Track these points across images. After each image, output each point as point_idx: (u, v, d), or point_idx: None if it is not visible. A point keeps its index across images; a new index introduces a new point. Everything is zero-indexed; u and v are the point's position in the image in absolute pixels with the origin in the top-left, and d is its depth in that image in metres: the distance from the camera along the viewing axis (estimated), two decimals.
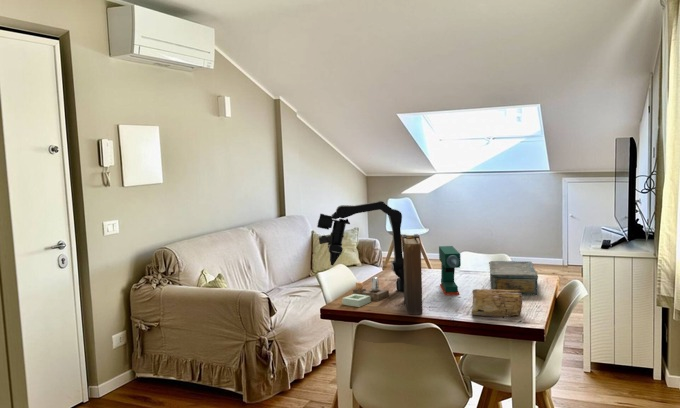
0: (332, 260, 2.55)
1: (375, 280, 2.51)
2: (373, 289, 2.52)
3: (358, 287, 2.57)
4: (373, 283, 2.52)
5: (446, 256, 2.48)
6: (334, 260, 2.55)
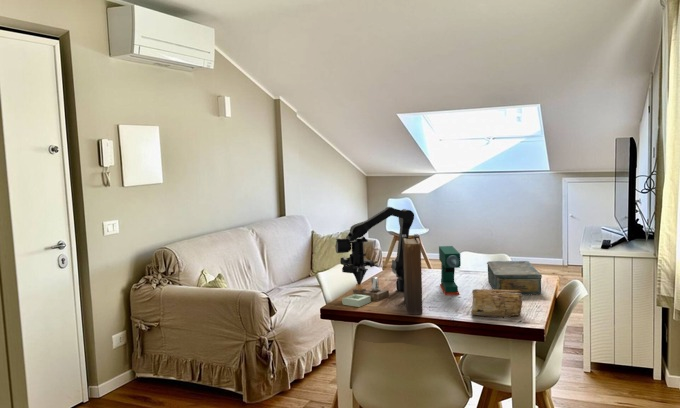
0: (357, 279, 2.58)
1: (375, 280, 2.51)
2: (373, 289, 2.52)
3: (358, 288, 2.57)
4: (373, 283, 2.52)
5: (446, 256, 2.48)
6: (358, 279, 2.57)
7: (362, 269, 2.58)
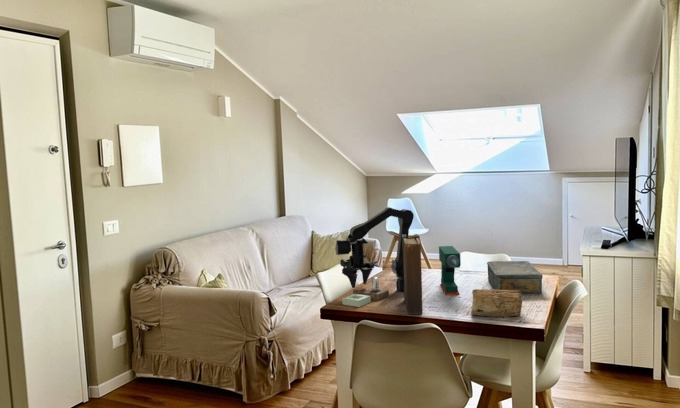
0: (351, 283, 2.54)
1: (375, 280, 2.51)
2: (373, 289, 2.52)
3: None
4: (373, 283, 2.52)
5: (446, 256, 2.48)
6: (353, 283, 2.53)
7: (367, 269, 2.62)
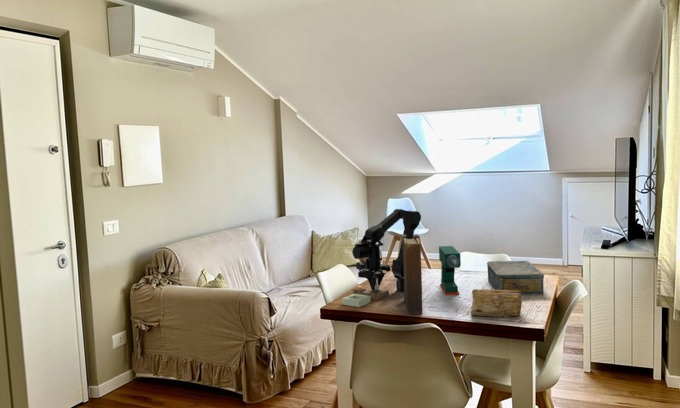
0: (371, 285, 2.51)
1: None
2: None
3: None
4: None
5: (446, 256, 2.48)
6: (373, 285, 2.50)
7: (380, 273, 2.54)
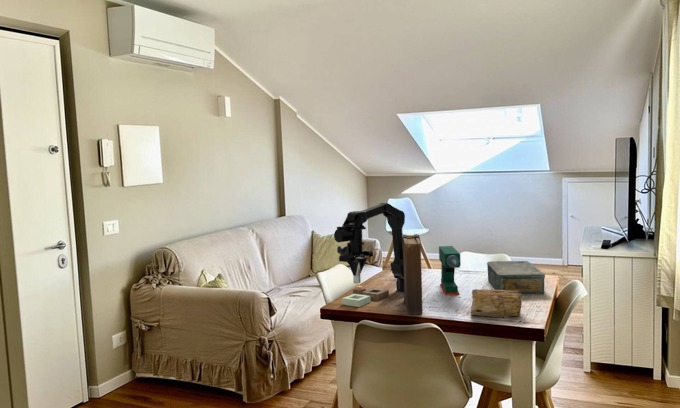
0: (352, 270, 2.42)
1: None
2: None
3: None
4: None
5: (446, 256, 2.48)
6: (354, 270, 2.41)
7: (362, 258, 2.45)
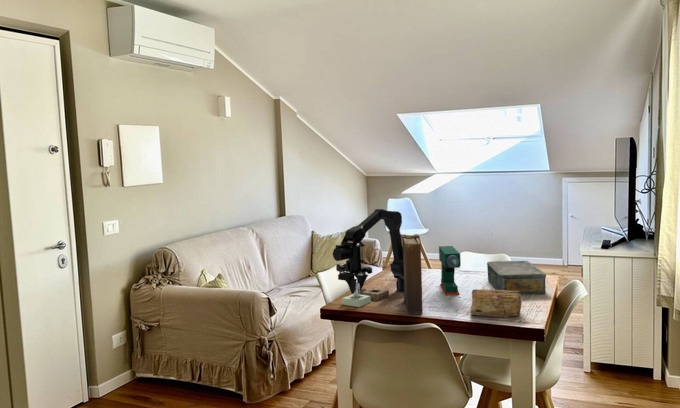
0: (350, 288, 2.41)
1: (356, 285, 2.42)
2: (354, 295, 2.43)
3: None
4: None
5: (446, 256, 2.48)
6: (352, 288, 2.40)
7: (362, 275, 2.45)
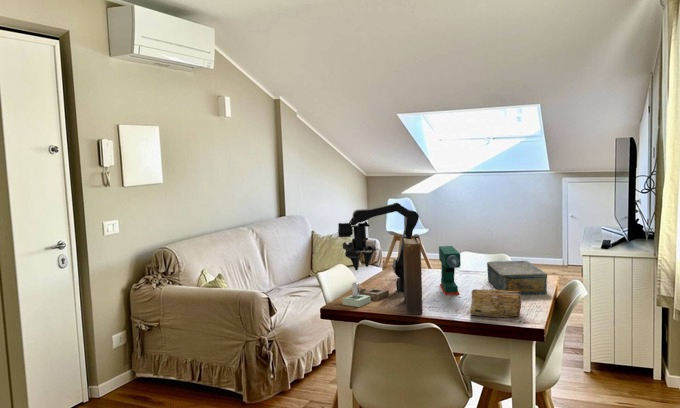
0: (354, 265, 2.57)
1: (356, 286, 2.42)
2: (354, 295, 2.42)
3: None
4: (354, 289, 2.42)
5: (446, 256, 2.48)
6: (356, 265, 2.56)
7: (369, 252, 2.65)
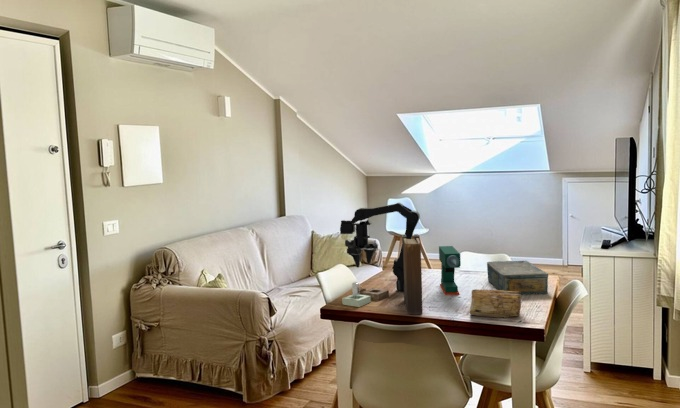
0: (356, 262, 2.63)
1: (356, 285, 2.42)
2: (354, 295, 2.43)
3: None
4: (354, 289, 2.42)
5: (446, 256, 2.48)
6: (357, 262, 2.62)
7: (371, 249, 2.70)
